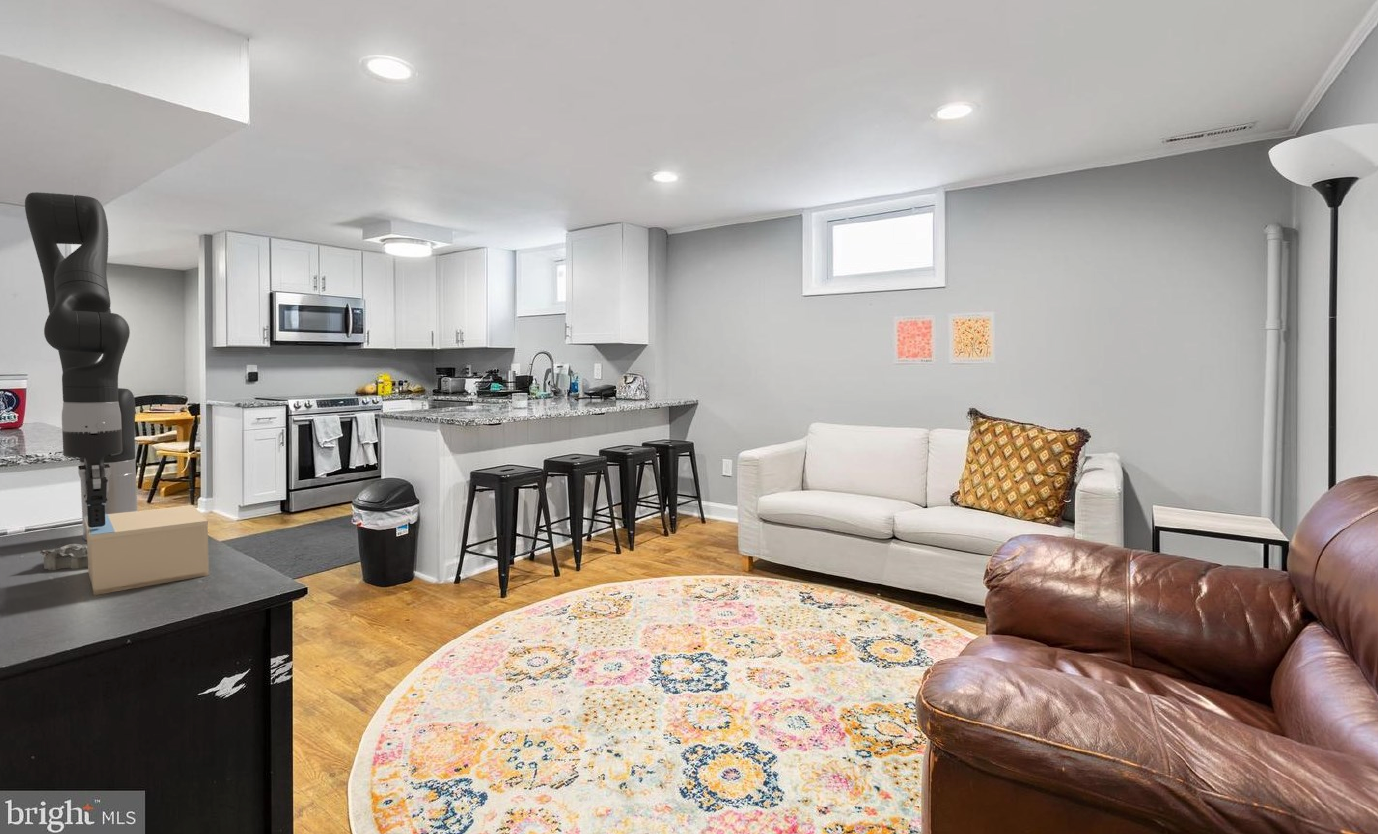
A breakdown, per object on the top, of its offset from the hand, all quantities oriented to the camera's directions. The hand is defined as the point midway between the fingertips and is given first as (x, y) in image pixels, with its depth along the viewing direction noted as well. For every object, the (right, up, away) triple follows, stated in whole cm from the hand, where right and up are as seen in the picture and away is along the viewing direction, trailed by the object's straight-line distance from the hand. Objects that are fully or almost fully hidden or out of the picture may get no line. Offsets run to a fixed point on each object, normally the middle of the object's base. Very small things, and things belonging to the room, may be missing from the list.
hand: (96, 526), depth 112 cm
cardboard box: (+1, -11, +9) cm, 14 cm away
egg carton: (-16, -10, +14) cm, 23 cm away
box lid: (+2, -1, +8) cm, 9 cm away
